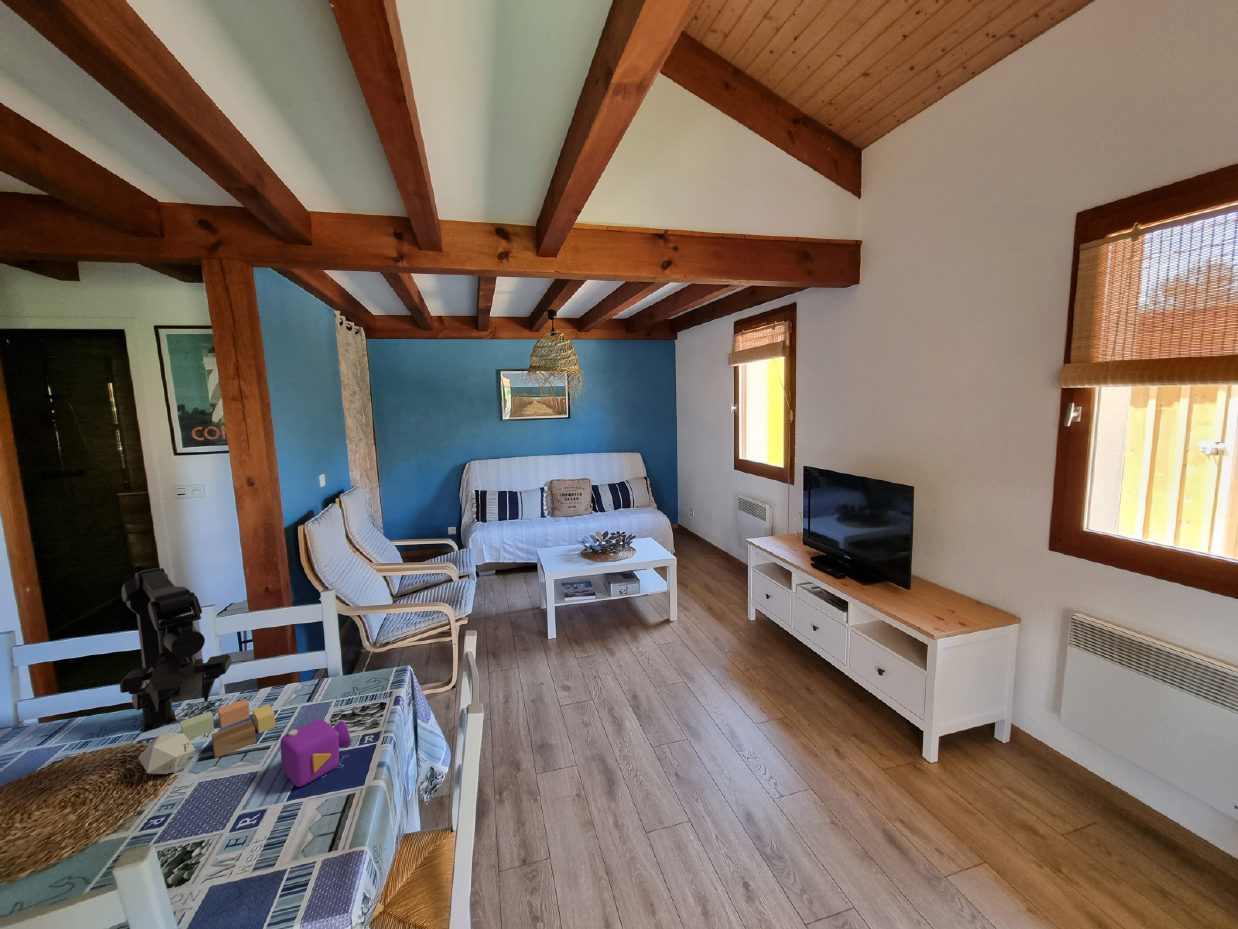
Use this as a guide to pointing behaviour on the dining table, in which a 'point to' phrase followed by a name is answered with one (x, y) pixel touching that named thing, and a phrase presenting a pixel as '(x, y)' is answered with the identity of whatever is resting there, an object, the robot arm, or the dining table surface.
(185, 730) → the sage brick
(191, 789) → the dining table surface
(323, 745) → the toy camera
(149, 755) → the die
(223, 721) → the terracotta brick
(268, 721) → the ochre brick
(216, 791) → the dining table surface
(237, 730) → the walnut base
